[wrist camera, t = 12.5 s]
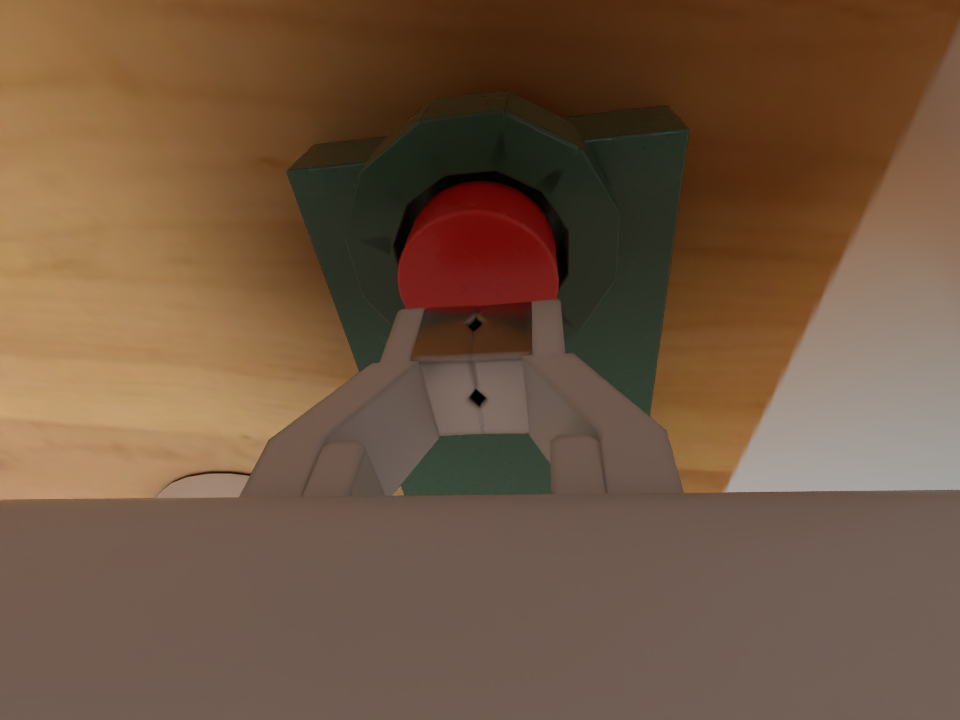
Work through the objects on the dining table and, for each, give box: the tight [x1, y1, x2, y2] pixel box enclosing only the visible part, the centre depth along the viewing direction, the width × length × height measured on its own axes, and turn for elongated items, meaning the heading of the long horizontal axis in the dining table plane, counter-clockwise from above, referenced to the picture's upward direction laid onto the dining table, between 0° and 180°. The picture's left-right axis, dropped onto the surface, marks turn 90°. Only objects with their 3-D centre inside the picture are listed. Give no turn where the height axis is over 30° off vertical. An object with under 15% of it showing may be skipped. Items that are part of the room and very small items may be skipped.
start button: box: [397, 181, 559, 309], centre depth 12 cm, size 4×4×2 cm
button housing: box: [287, 91, 689, 496], centre depth 18 cm, size 19×10×4 cm, turn 7°
